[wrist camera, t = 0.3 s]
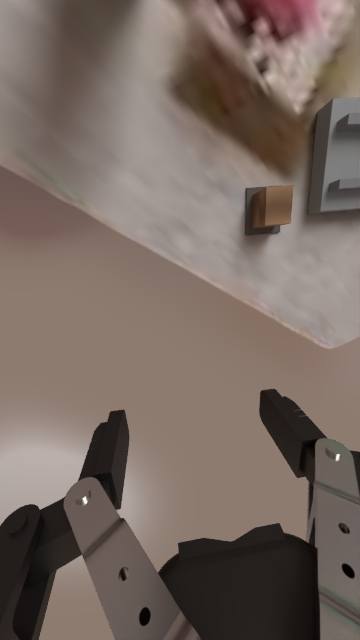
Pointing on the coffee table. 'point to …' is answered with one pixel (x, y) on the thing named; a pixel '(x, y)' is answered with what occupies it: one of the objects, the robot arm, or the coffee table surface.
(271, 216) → the block
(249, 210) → the mat
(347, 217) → the coffee table surface
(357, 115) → the rail board
